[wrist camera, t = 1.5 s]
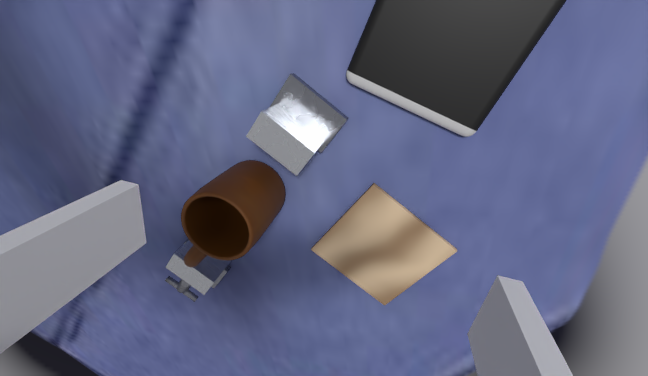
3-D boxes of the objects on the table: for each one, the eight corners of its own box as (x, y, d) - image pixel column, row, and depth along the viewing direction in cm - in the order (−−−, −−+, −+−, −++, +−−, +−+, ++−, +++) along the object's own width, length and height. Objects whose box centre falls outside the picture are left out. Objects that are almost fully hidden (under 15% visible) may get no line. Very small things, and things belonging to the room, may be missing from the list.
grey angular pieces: (174, 262, 45) (149, 285, 41) (293, 73, 30) (275, 77, 26) (212, 289, 46) (192, 315, 41) (348, 118, 31) (339, 129, 26)
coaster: (311, 247, 38) (311, 249, 38) (374, 182, 33) (373, 184, 32) (384, 303, 39) (384, 305, 39) (456, 248, 34) (457, 251, 34)
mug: (247, 245, 41) (207, 296, 32) (202, 208, 40) (149, 251, 31) (300, 188, 35) (269, 231, 27) (249, 144, 34) (201, 175, 26)
